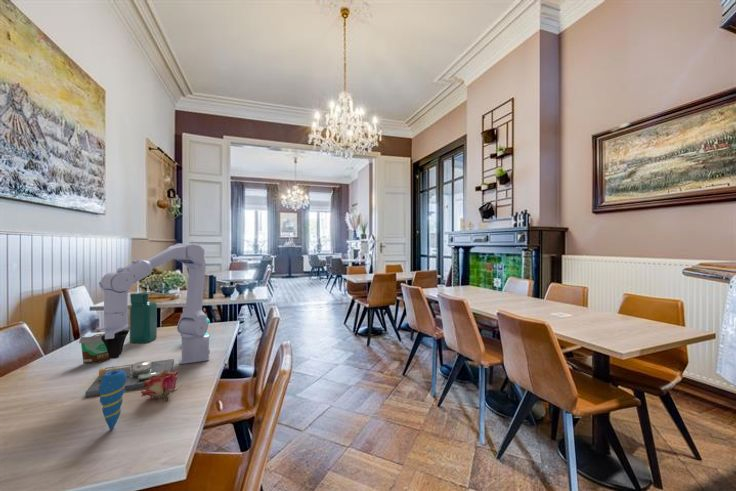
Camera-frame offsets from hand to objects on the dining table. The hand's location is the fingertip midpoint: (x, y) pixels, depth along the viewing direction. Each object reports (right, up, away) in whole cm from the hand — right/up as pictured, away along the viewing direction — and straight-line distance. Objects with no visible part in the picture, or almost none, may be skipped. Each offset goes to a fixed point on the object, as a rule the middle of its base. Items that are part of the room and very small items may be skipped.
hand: (115, 356), depth 98 cm
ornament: (+17, -10, -22) cm, 29 cm away
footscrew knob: (-1, -8, +5) cm, 9 cm away
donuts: (-1, -10, +48) cm, 49 cm away
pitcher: (-25, -10, +47) cm, 54 cm away
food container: (-23, -10, +23) cm, 34 cm away
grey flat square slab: (+1, -9, +7) cm, 12 cm away
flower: (+18, -10, -7) cm, 21 cm away
